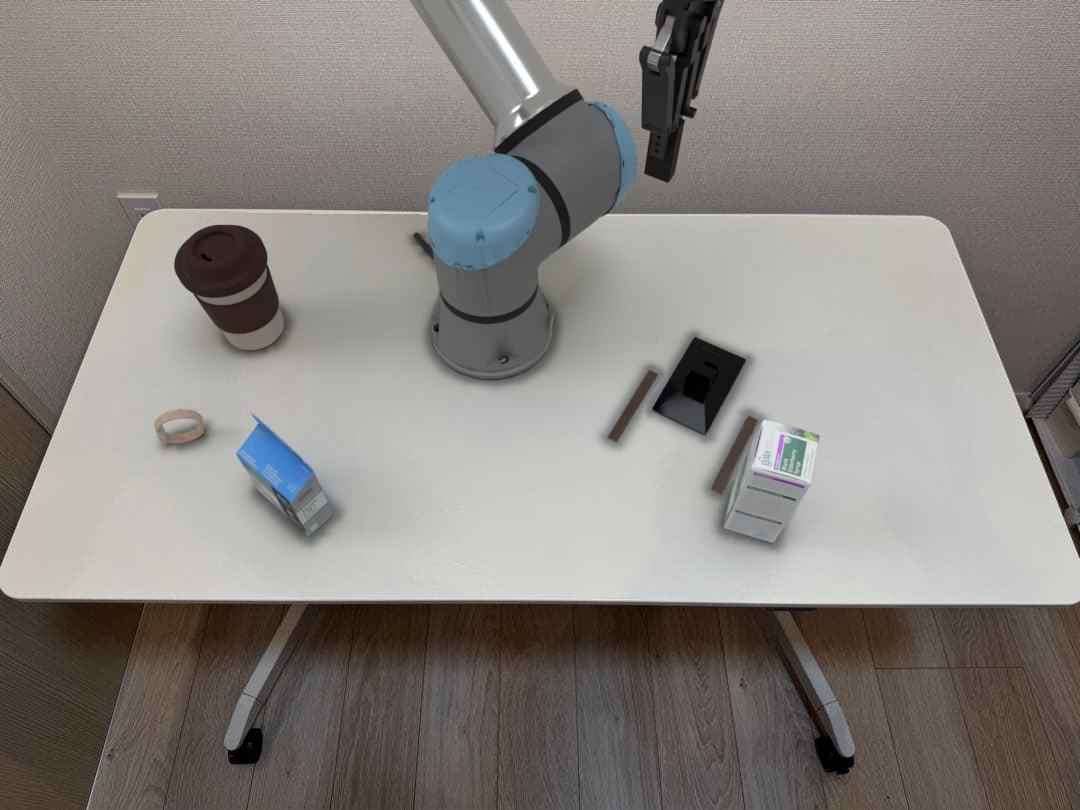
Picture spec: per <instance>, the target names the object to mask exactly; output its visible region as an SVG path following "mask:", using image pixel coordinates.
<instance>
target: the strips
mask: <svg viewBox="0 0 1080 810" xmlns="http://www.w3.org/2000/svg"><path fill="white" fill-rule="evenodd" d="M658 376H659V373H658V372H656V371H653V370H651V369H648V371H647V373H646V374H645V376H644V378H642V381H641V382H640V384H639V385H638V387H637V389H636V391H635V392H634V394H633V395H632V397H631V398H630V400H629V402H628V403H627V405H626V407H625V408H624V410H623V412H622V413H621V415H620V416H619V418H618V420H617V421H616V423H615V424H614V426H613V428H612V429H611V431H610V432H609V435H608V436H607V438H608V439H609V440H612V441H613V442H616V443H618V441H619V439H620V438H621V437H622V434H623V433H624V431H625V430H626V428H627V426H628V424H629V423H630V421H631V420H632V418H633V417H634V415H635V413H636V412H637V410H638V409H639V407H640V405H641V404H642V402H643V400H644V398H645V397H646V395H647V394H648V392H649V391H650V389H651V387H652V385H653V383H654V382H655V380H656V378H657V377H658ZM758 421H759V419H758V418H755V417H753V416H750V415H747V417H746V419H745V421H744V424H743V425H742V427H741V429H740V431H739V433H738V435H737V437H736V439H735V441H734V443H733V445H732V447H731V449H730V451H729V452H728V454H727V456H726V459H725V461H724V463H723V464H722V466H721V468H720V470H719V472H718V474H717V476H716V478H715V480H714V482H713V483H712V486H711V488H710V489H711V490H712V491H714V492H716V493H718V494H720V495H721V494H722V493H723V490H724V488H725V487H726V485H727V483H728V480H729V479H730V477H731V475H732V473H733V470H734V469H735V467H736V465H737V463H738V461H739V458H740V457H741V455H742V453H743V451H744V449H745V447H746V445H747V443H748V441H749V439H750V437H751V435H752V433H753V431H754V429H755V427H756V425H757V423H758Z"/></svg>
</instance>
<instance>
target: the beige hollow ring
mask: <svg viewBox="0 0 1080 810" xmlns="http://www.w3.org/2000/svg"><path fill="white" fill-rule="evenodd" d="M180 419H185V420H187V419H188V420H193V421H197V422H198V423H199V425H198V426H197V427H196V428H194V429H193V430H190V431H187V432H184V433H175V434H174V433H169V432H167V431H165V427H164V426H163V425H164V424H166V423H168V422H172V421H175V420H180ZM154 429H155V433H156V437H157V438H158V439H159V441H160V442H161V443H162V444H165V443H166V444H174V445H175V444H185V443H189V442H191V441H194V440H196V439H199V438H200V437H201V436H202V435H203V434H204V432H205V423H204V418H203V416H202V414H201V413H199V412H198V411H196V410H193V409H189V408H178V409H177V408H176V409H172V410H168V411H166V412H164V413H162V414H160V415H159V416H158V417H157V418H156V419H155V420H154Z"/></svg>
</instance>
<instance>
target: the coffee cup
mask: <svg viewBox="0 0 1080 810" xmlns="http://www.w3.org/2000/svg"><path fill="white" fill-rule="evenodd" d="M268 258H269V257H268V251H267V248H266V246H265V244H264V242H263V239H262V238H261V236H259V234H258V233H256V232H255V231H254V230H252V229H250V228H249V227H246V226H242V225H238V224H213V225H209V226H208V225H207V226H205V227H203V228H200V229H199V230H197V231H196V232H194V233H193V234H192V235H190V237H189V238H187V239H186V240H185V241H184V242H183V243H182V244H181V246H180V247H179V248H178V250H177V252H176V254H175V256H174V260H173V261H174V262H173V268H174V272H175V275H176V276H177V278H178V280H179V282H180V283H181V285H182V286H183V287H184V288H185V289H186V290H187V291H188V292H190V293H192V294H193V296H194V298H195V299H196V301H197V302H198V303H199V304H200V306H201V308H202V309H203V310H204V312H205V313H206V314H207V316H208V318H210V320H211V321H212V323H213V324H214V325H215V326H216V327H217V328H218V329H219V330H220V331H221V333H222V334H223V335H224V337H225V338H226V340H227V341H228V343H230V344H231V345H232V346H233V347H235V348H237V349H239V350H244V351H257V350H261V349H264V348H267V347H269V346H270V345H272V344H273V343H275V342H276V341H277V340H278V339H279V338H280V336H281V335H282V333H283V330H284V327H285V320H284V319H285V318H284V316H283V311H282V309H281V307H280V298H279V294H278V292H277V289H276V285H275V282H274V279H273V276H272V273H271V270H270V267H269V265H268V260H269V259H268Z"/></svg>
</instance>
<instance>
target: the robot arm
mask: <svg viewBox="0 0 1080 810" xmlns="http://www.w3.org/2000/svg"><path fill="white" fill-rule="evenodd" d="M408 1H409V2H410V3H411V5H412V6H413V8H414V10H415V11H416V12H417V15H418V16H419V17H420V19H421V20H422V22H423V24H424V25H425V26H426V28H427V29H428V30H429V33H430V34H431V35H432V36H433V38H434V40H435V41H436V43H437V44H438V46H439V47H440V49H441V50H442V52H443V54H444V55H446V58H447V59H448V60H449V62H450V64H451V65H452V67H453V68H454V69H455V71H456V72H457V74H458V75H459V77H460V78H461V80H462V82H463V83H464V84H465V86H466V88H467V89H468V90H469V92H470V94H471V95H472V96H473V98H474V99H475V100H476V103H477V104H478V106H479V107H480V109H481V110H482V111H483V114H485V117H486V118H487V119H488V121H489V122H490V124H491V125H492V126H493V130H494V134H493V141H492V146H491V147H492V150H493V152H488V153H486V155H485V156H484V157H480V156H479V154H474V155H470V156H468V157H465V158H463V159H461V160H459V161H458V160H457V162H454V164H452V165H450V166H449V167H448V168H447V169H445V170H444V171H443V172H442V173H441V175H440V176H439V177H438V178H437V180H436V181H435V183H434V184H433V186H432V188H431V190H430V193H429V195H428V201H427V235H428V241H429V243H430V244H429V243H428V242H427V241H426V239H424V238H423V236H422V235H421V234H420V232H419V231H416V232H414V233H413V238H414V239H415V240H416V242H417V243H418V244H419V245H420V247H421V248H422V249H423V250H424V251H425V253H426V254H427V255H428V256H429V257H430V258H431V260H433V262H434V267H435V272H436V279H437V285H438V290H439V291H438V293H437V297H436V300H435V303H434V306H433V310H432V313H431V317H430V333H431V338H432V343H433V346H434V348H435V350H436V352H437V354H438V356H439V357H440V359H441V360H443V362H444V363H445V364H447V366H448V367H450V368H451V369H452V370H455V371H456V372H458V373H460V374H462V375H465V376H468V377H471V378H475V379H481V380H501V379H505V378H509V377H513V376H517V375H519V374H522V373H524V372H525V371H527V370H529V369H530V368H532V367H533V366H534V365H536V364H537V363H538V362H539V361H540V360H541V359H542V358H543V357H544V355H545V354H546V352H547V351H548V350H549V349H548V348H549V347H550V345H551V342H552V337H553V328H554V327H553V326H554V324H553V322H554V316H555V312H553V313H552V310H551V307H550V304H549V302H548V300H547V298H546V297H545V295H544V293H543V292H542V290H541V287H540V285H539V267H540V265H542V263H543V262H544V261H546V260H547V259H548V258H549V257H551V256H552V255H553V254H555V253H556V252H558V250H560V249H561V248H562V247H564V246H565V245H567V244H568V243H570V242H571V240H572V241H573V239H574V238H576V237H577V236H579V235H580V234H581V233H582V232H584V231H585V230H586V229H588V228H589V227H590V226H592V225H593V224H594V223H595V222H597V221H598V220H599V219H601V218H602V217H605V216H606V215H608V214H610V213H611V212H612V211H613V210H614V209H615V208H616V206H617V205H618V204H619V203H620V202H622V201H623V200H624V199H625V198H627V196H628V195H629V194H630V192H631V191H632V189H633V187H634V185H635V182H636V179H637V175H638V174H637V173H638V172H637V168H638V166H639V160H638V159H639V158H638V151H637V146H636V142H635V140H634V136H633V135H632V131H631V130H630V128H629V126H628V124H627V123H626V121H625V119H624V118H623V117H622V115H621V114H620V113H619V112H618V111H617V110H616V109H615V108H613V107H608V105H607V103H605V102H603V101H598V100H589V101H586V99H585V98H584V97H583V95H582V93H581V92H580V90H579V89H578V87H577V86H576V85H573V84H572V85H571V84H567V83H561V82H559V81H557V80H556V78H555V77H554V75H553V74H552V72H551V71H550V69H549V68H548V66H547V65H546V63H545V62H544V60H543V58H542V57H541V55H540V53H539V52H538V49H536V47H535V45H534V44H533V42H532V41H531V39H530V38H529V36H528V34H527V32H526V31H525V30H524V28H523V27H522V25H521V24H520V22H519V20H518V19H517V18H516V16H515V14H514V13H513V11H512V9H511V7H509V4H508V3H507V2H506V0H408ZM725 1H726V0H662V1H660V2H659V4H658V6H657V9H656V12H655V19H654V25H655V28H656V33H655V38H654V39H655V40H654V44H653V46H651V45H650V46H649V45H646V44H644V45H643V46H642V47H641V48H640V51H639V55H638V62H639V65H640V67H641V121H640V122H641V126H640V128H641V129H642V130H645V131H648V132H649V137H648V138H649V139H648V145H647V152H646V157H645V159H646V160H645V164H644V171H643V174H644V175H646V176H648V177H651V178H654V179H657V180H659V181H662V182H664V183H666V184H669V183H670V182H671V180H672V179H673V178H674V176H675V173H676V168H677V164H678V159H679V153H680V150H681V149H680V148H681V143H682V139H683V134H684V133H683V132H684V128H685V124H686V123H685V122H686V119H684V118H683V117H685V118H687V119H691V120H694V118H695V116H696V114H697V111H698V108H696V107H693V106H691V104H692V100H693V101H694V100H696V99H697V97H698V96H699V93H700V87H701V83H702V80H703V75H704V73H705V69H706V66H707V61H708V58H709V54H710V51H711V47H712V43H713V40H714V36H715V32H716V30H717V25H718V21H719V17H720V15H721V12H722V9H723V6H724V3H725Z"/></svg>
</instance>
